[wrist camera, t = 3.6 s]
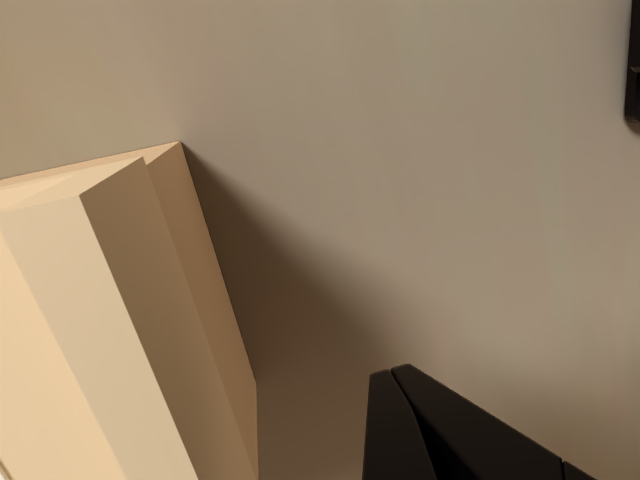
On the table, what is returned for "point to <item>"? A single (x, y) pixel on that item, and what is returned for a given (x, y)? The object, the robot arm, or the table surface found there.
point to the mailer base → (194, 274)
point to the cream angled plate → (104, 339)
